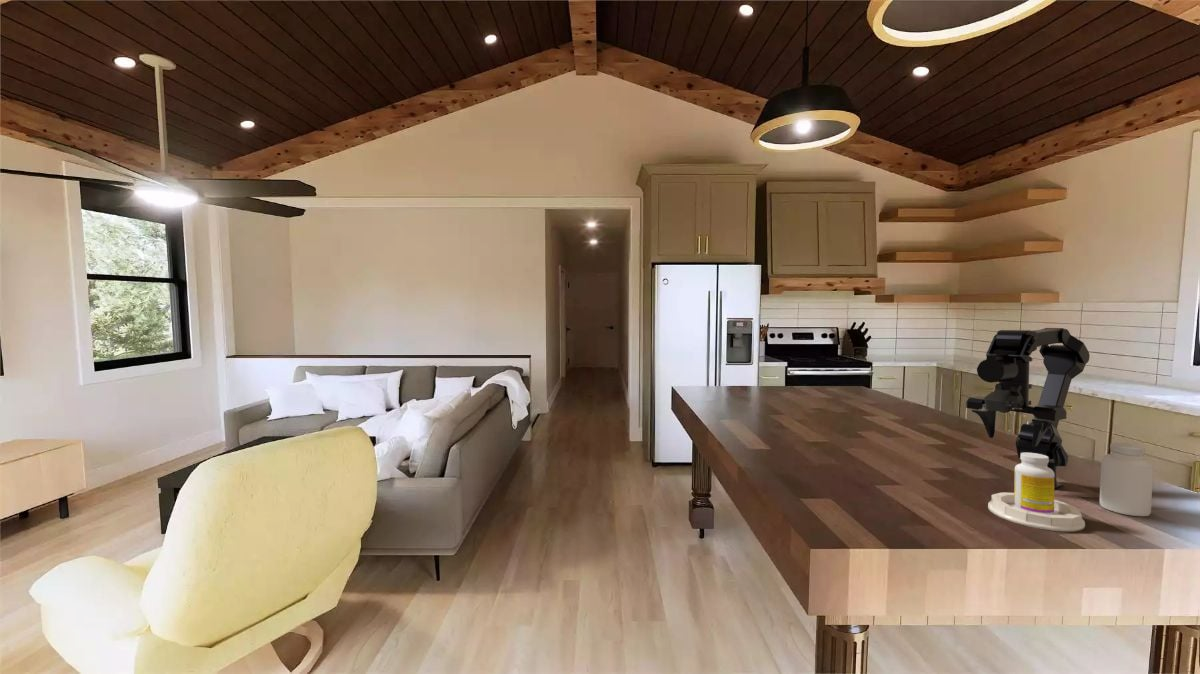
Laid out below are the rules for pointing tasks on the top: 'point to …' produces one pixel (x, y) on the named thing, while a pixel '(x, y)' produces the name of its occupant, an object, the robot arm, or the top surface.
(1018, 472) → the supplement bottle
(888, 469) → the top surface
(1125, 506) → the pill bottle
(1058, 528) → the tray
